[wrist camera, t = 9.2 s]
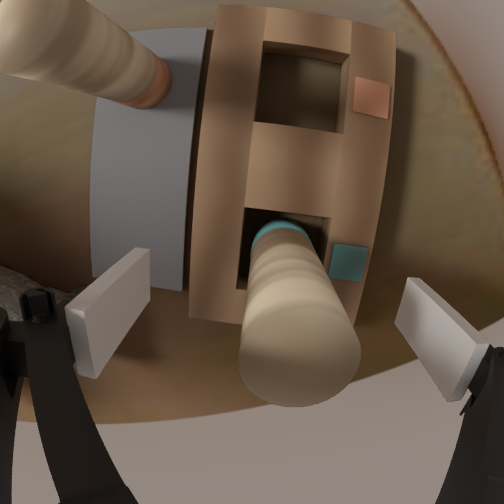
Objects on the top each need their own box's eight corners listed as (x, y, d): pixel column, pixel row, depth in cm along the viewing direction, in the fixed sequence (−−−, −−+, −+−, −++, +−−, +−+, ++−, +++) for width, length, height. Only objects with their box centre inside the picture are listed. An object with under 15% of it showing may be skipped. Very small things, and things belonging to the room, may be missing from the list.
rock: (64, 261, 19) (83, 392, 20) (106, 257, 26) (116, 363, 26) (-53, 264, 19) (-38, 360, 20) (-12, 260, 26) (-1, 345, 27)
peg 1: (116, 110, 20) (-29, 83, 7) (124, 59, 19) (-3, -7, 5) (168, 109, 20) (41, 60, 7) (175, 56, 19) (73, -40, 5)
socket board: (195, 302, 25) (187, 318, 22) (223, 18, 18) (218, 3, 15) (344, 318, 25) (351, 335, 22) (383, 43, 18) (397, 32, 15)
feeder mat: (94, 275, 24) (92, 277, 24) (110, 36, 18) (108, 34, 18) (183, 289, 24) (182, 291, 24) (207, 29, 18) (206, 27, 18)
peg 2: (255, 213, 22) (242, 300, 9) (312, 220, 22) (377, 313, 9) (249, 267, 24) (231, 403, 10) (303, 274, 24) (343, 409, 10)
